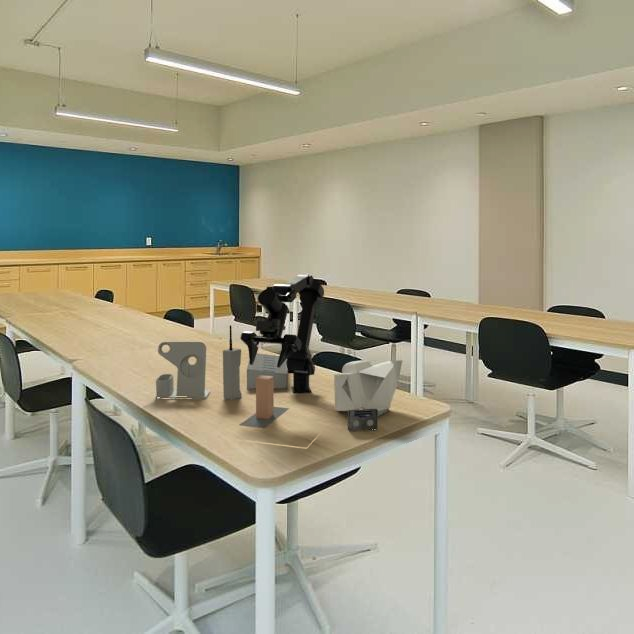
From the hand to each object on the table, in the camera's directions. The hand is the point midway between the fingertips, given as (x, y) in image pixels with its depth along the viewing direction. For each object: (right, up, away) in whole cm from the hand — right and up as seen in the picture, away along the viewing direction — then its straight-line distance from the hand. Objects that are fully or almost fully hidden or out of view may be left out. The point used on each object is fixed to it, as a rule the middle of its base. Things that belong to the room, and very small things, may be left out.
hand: (264, 365), depth 173 cm
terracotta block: (0, -15, -2) cm, 15 cm away
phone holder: (-30, -12, +22) cm, 39 cm away
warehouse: (-3, -9, +47) cm, 48 cm away
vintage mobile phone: (-12, -13, +18) cm, 25 cm away
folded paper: (+34, -15, +5) cm, 38 cm away
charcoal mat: (0, -15, -2) cm, 15 cm away
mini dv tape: (+29, -17, -12) cm, 36 cm away
